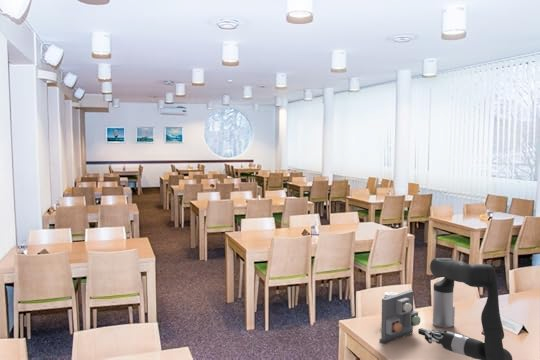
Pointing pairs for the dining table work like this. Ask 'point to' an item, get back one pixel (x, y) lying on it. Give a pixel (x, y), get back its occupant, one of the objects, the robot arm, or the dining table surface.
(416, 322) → the sage button
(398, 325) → the terracotta button
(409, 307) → the cream button
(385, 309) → the button panel
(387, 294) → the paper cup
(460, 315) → the dining table surface
